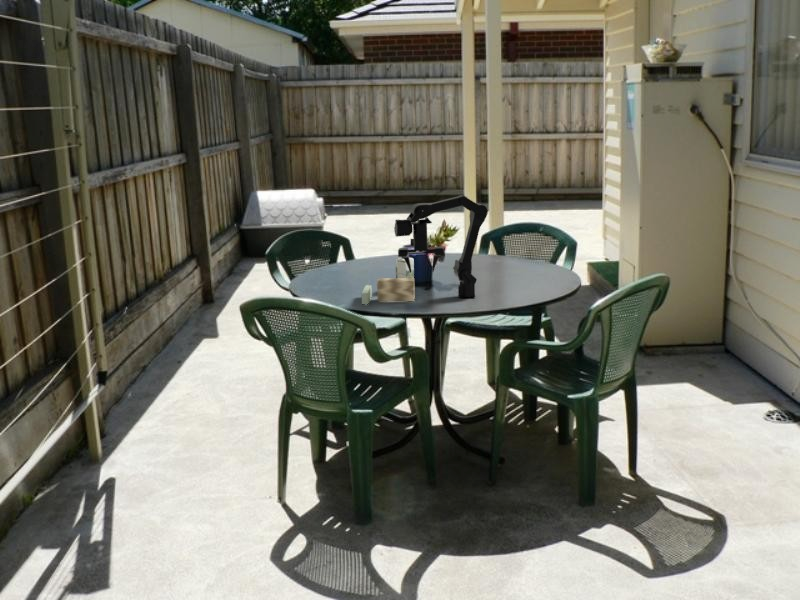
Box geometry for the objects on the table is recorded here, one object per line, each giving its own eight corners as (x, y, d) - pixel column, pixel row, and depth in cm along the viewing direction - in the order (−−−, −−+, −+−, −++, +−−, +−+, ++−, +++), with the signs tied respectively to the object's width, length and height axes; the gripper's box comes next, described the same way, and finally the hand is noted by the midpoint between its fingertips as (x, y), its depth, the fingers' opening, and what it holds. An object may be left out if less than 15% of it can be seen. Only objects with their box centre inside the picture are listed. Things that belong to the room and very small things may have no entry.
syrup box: (404, 288, 384) (403, 256, 380) (414, 290, 380) (413, 257, 377) (395, 291, 379) (395, 258, 376) (406, 292, 376) (405, 259, 372)
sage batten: (372, 296, 370) (371, 285, 369) (368, 305, 354) (367, 293, 353) (366, 296, 370) (365, 285, 369) (362, 305, 355) (361, 293, 353)
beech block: (414, 299, 364) (414, 278, 362) (413, 302, 358) (413, 281, 356) (379, 299, 365) (378, 278, 363) (377, 302, 359) (377, 281, 357)
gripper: (442, 230, 363) (444, 267, 366) (398, 232, 363) (399, 269, 367) (443, 235, 352) (444, 272, 355) (397, 236, 353) (399, 274, 356)
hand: (421, 272), depth 359 cm, fingers open, 9 cm apart
